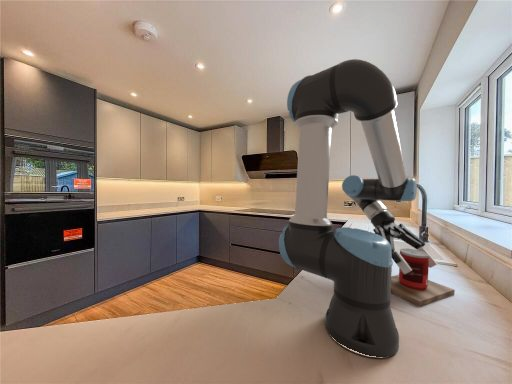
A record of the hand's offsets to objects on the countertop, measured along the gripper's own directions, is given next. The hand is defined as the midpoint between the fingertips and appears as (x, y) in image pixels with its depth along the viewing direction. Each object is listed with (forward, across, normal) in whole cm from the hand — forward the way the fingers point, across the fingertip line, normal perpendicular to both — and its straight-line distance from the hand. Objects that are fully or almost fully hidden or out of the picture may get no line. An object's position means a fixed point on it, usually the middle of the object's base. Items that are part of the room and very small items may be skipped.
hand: (421, 269), depth 67 cm
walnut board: (+4, 0, -7) cm, 8 cm away
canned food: (+3, 0, -6) cm, 7 cm away
